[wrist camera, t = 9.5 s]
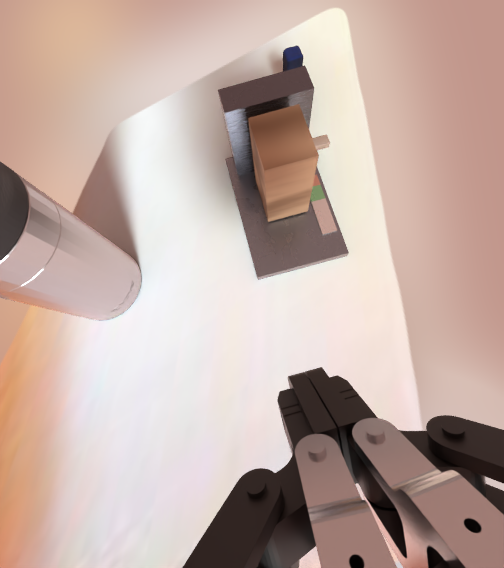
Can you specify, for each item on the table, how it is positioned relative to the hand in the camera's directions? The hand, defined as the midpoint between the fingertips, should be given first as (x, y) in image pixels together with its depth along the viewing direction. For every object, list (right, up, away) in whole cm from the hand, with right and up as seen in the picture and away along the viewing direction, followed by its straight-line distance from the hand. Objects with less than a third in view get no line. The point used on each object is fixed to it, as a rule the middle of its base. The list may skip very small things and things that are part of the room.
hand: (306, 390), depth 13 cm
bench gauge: (+2, +14, +25) cm, 29 cm away
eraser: (+3, +31, +30) cm, 43 cm away
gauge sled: (+2, +16, +24) cm, 29 cm away
